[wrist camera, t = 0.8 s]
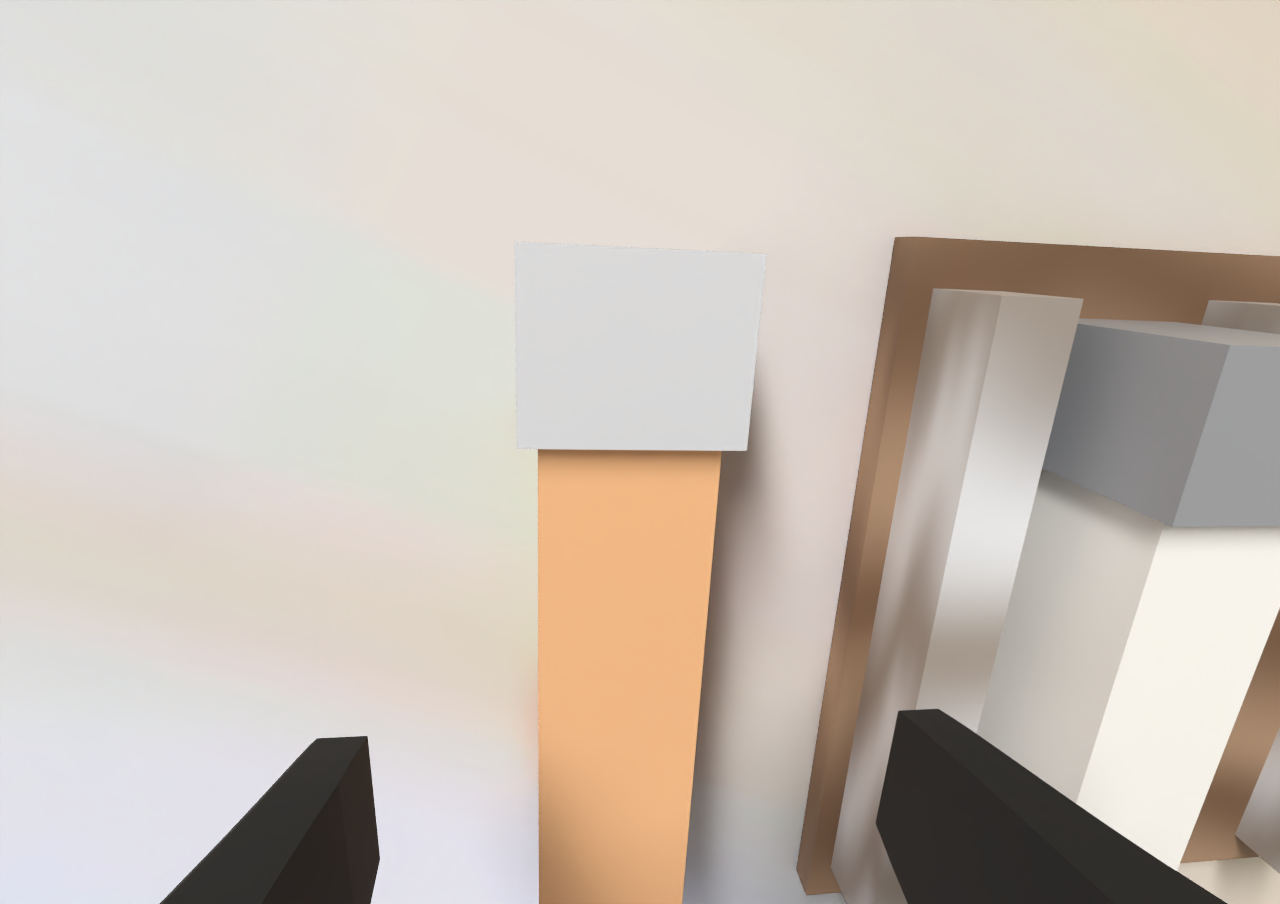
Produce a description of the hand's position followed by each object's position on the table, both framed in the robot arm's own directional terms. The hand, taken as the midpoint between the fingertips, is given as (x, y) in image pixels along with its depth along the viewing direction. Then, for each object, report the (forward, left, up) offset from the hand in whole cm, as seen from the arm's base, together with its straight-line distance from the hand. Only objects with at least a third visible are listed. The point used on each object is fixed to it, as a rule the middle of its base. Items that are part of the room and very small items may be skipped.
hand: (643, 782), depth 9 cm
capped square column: (0, 0, -7) cm, 7 cm away
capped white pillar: (-1, -11, -6) cm, 12 cm away
